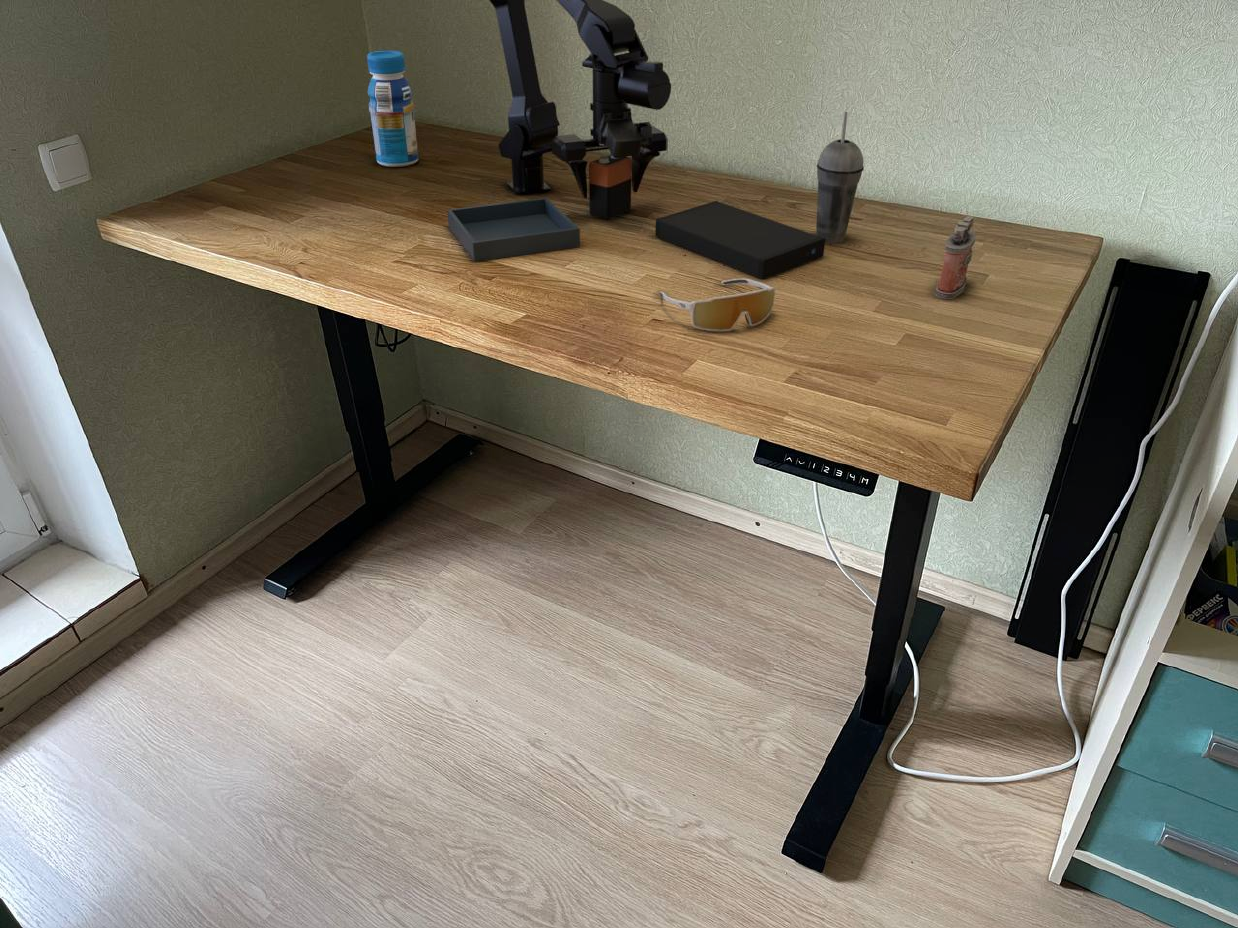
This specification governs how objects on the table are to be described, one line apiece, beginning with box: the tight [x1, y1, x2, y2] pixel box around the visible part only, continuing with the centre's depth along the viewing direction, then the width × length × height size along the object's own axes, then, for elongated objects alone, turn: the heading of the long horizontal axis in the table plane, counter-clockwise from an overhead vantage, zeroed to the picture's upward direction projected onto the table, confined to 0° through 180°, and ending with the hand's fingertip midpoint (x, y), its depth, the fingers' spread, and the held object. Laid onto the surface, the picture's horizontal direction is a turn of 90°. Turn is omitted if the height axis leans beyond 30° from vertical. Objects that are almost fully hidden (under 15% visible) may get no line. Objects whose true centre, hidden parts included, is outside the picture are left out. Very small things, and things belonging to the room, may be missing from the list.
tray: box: [446, 197, 581, 262], centre depth 154 cm, size 16×17×3 cm
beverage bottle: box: [366, 50, 419, 168], centre depth 183 cm, size 8×8×20 cm
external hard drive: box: [654, 200, 826, 280], centre depth 151 cm, size 14×23×3 cm, turn 41°
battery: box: [588, 152, 632, 221], centre depth 162 cm, size 4×7×10 cm, turn 144°
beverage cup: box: [815, 111, 865, 244], centre depth 150 cm, size 7×7×20 cm
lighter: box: [935, 215, 977, 300], centre depth 136 cm, size 8×3×10 cm, turn 148°
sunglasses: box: [659, 278, 776, 332], centre depth 131 cm, size 14×15×5 cm
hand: (610, 194), depth 163 cm, fingers open, 9 cm apart
